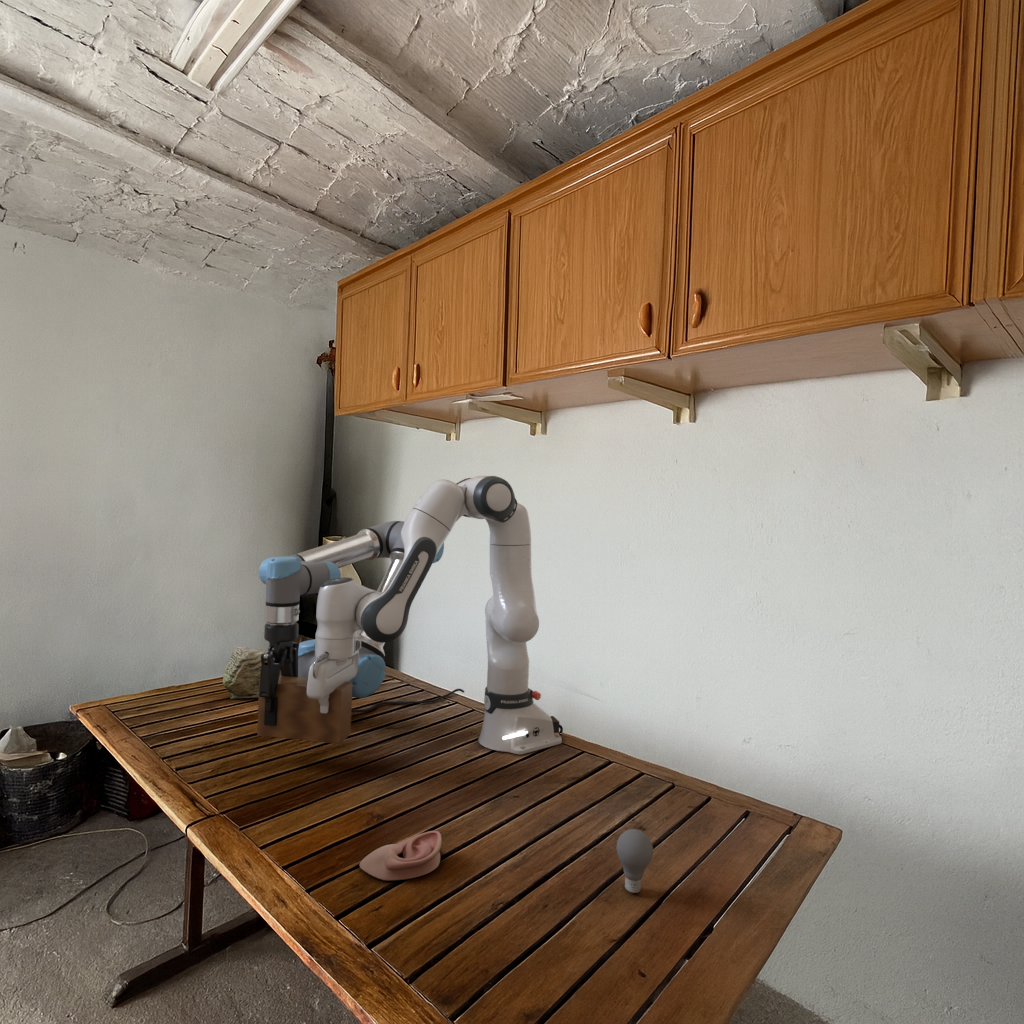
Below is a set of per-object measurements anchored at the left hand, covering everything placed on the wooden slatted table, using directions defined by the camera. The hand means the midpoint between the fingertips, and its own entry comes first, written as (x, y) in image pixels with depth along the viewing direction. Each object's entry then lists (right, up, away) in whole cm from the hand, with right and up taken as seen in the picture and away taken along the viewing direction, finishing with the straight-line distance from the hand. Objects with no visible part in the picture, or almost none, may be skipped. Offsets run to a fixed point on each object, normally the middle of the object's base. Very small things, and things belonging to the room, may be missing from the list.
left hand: (278, 719), depth 150 cm
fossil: (-25, -8, +48) cm, 55 cm away
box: (+7, -3, -1) cm, 7 cm away
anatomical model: (+36, -13, -39) cm, 54 cm away
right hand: (+13, +4, -2) cm, 14 cm away
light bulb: (+75, -14, -44) cm, 88 cm away
